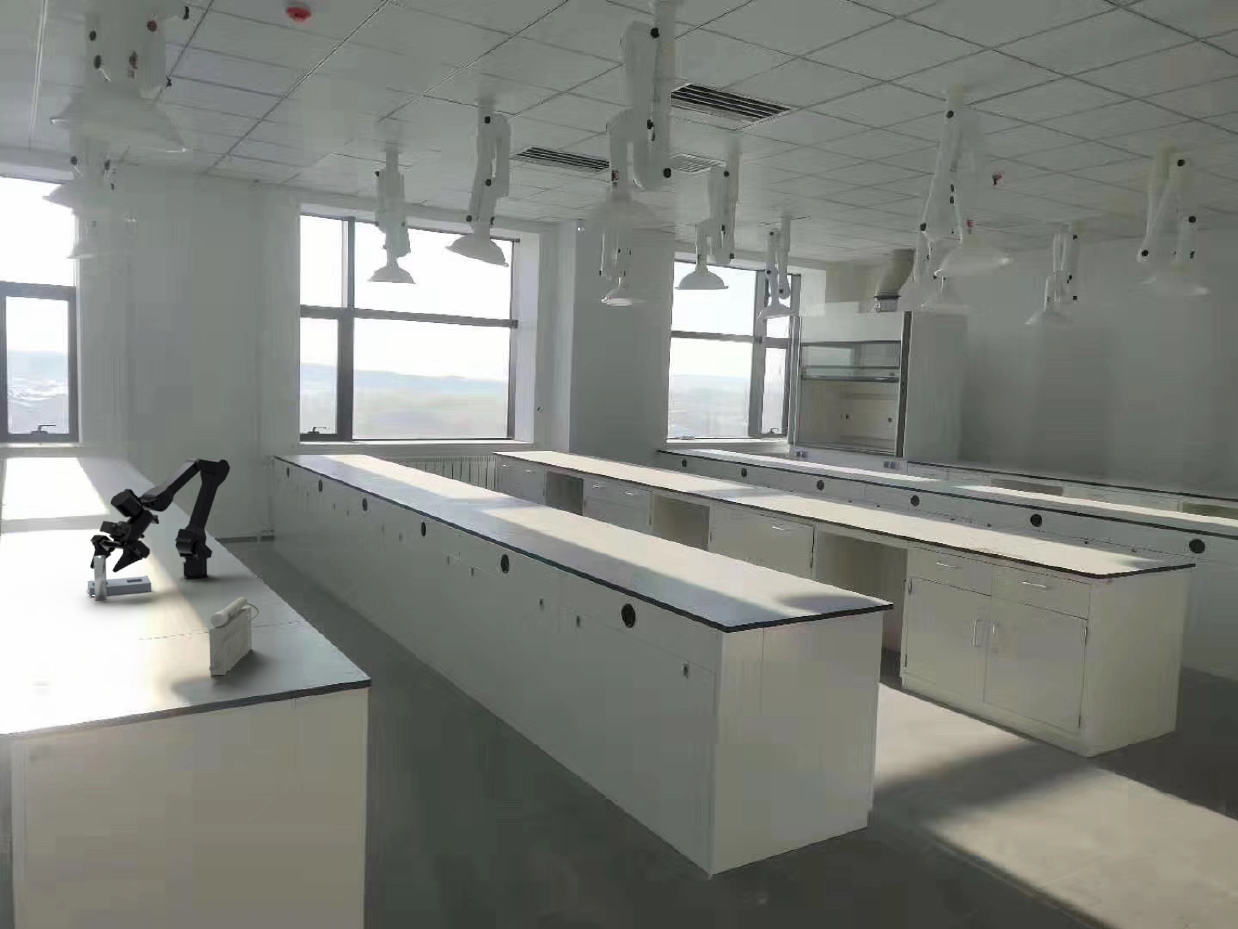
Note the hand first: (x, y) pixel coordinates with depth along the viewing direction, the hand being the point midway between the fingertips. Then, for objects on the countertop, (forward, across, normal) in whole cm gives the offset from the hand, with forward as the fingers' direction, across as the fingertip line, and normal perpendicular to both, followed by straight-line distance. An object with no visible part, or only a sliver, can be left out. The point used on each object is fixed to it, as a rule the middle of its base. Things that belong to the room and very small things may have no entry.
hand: (102, 569), depth 262 cm
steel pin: (+6, 0, +6) cm, 8 cm away
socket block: (0, -4, +12) cm, 13 cm away
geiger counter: (+25, +76, -13) cm, 81 cm away
